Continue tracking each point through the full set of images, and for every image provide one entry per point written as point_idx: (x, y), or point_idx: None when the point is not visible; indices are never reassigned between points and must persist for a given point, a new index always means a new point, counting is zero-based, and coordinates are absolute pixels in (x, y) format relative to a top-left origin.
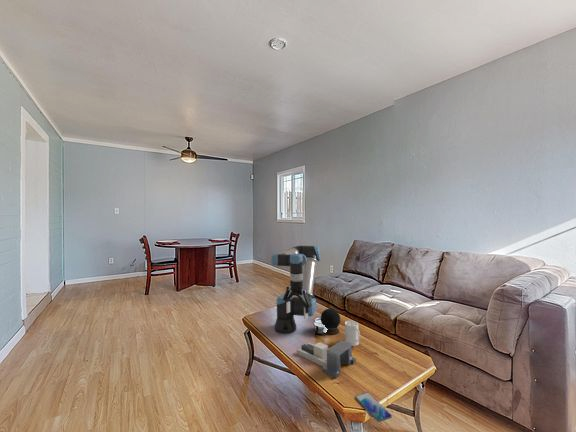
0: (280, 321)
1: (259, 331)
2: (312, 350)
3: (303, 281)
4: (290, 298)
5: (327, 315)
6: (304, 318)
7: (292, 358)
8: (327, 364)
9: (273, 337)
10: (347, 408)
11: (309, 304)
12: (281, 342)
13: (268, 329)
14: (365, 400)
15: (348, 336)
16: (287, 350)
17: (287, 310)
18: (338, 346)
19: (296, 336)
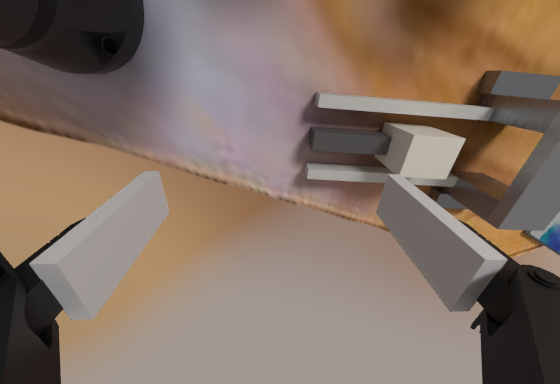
0: (35, 51)
1: (24, 127)
2: (372, 153)
3: None
4: (17, 362)
5: None
6: (381, 214)
7: (309, 201)
8: (455, 198)
9: (130, 130)
10: None
11: None
12: (196, 143)
13: (20, 75)
14: (551, 231)
15: None
16: (262, 175)
17: (156, 228)
18: (556, 176)
19: (199, 38)
